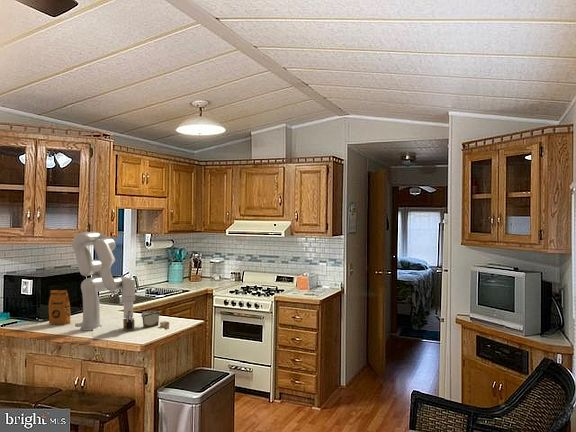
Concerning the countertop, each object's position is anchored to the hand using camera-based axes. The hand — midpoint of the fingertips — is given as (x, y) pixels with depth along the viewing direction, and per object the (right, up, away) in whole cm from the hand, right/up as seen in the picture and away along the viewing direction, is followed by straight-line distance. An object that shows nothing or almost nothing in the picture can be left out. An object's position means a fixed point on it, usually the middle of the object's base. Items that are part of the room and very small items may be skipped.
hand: (129, 326), depth 286 cm
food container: (+10, -3, +8) cm, 13 cm away
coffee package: (-52, -4, +22) cm, 57 cm away
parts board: (0, -3, 0) cm, 3 cm away
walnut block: (0, -2, 0) cm, 2 cm away
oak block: (+20, -3, +7) cm, 21 cm away
